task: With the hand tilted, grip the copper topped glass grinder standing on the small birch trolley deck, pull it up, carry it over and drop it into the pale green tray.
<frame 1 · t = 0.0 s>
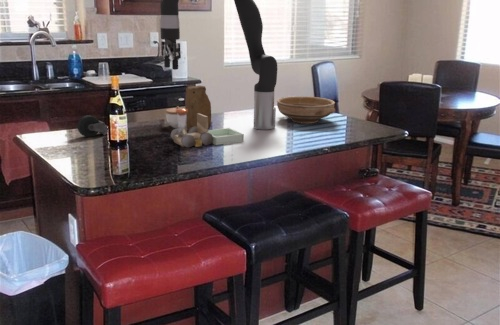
hand: (171, 68, 206), 29 cm above the countertop, tool pointing down, fingers open, 8 cm apart
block: (198, 130, 230), on the countertop
copper topped glass grinder: (182, 136, 205), point 3 cm above the countertop, touching trolley
tray: (222, 139, 213), on the countertop
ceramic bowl: (305, 121, 253), on the countertop
lidded jar: (178, 126, 237), on the countertop
trolley: (191, 142, 208), on the countertop
caster wheel: (96, 136, 218), on the countertop
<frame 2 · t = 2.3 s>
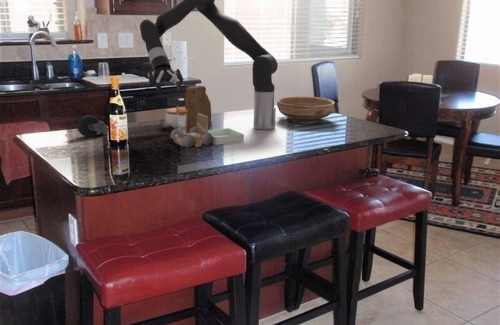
hand: (170, 91, 210), 20 cm above the countertop, tool tilted 45°, fingers open, 8 cm apart
nothing on the countertop moved.
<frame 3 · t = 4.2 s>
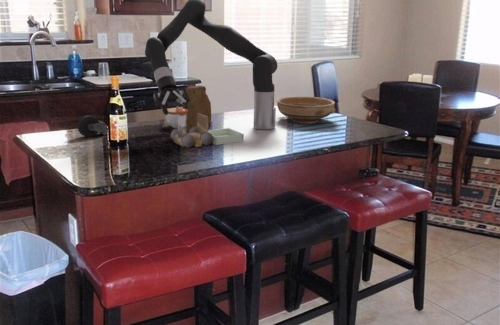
hand: (176, 112, 207), 12 cm above the countertop, tool tilted 45°, fingers open, 8 cm apart
nothing on the countertop moved.
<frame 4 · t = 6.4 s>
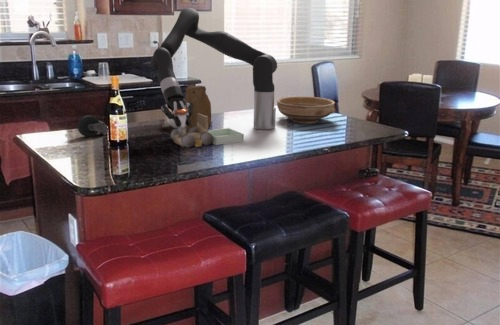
hand: (184, 125, 202), 8 cm above the countertop, tool tilted 45°, fingers closed on copper topped glass grinder, 3 cm apart
copper topped glass grinder: (182, 136, 205), point 3 cm above the countertop, touching gripper, trolley
everything else where it was.
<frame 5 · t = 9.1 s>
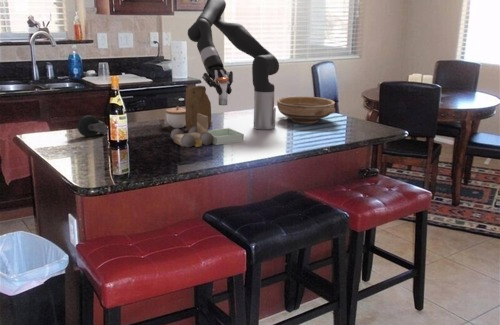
hand: (225, 93, 206), 20 cm above the countertop, tool tilted 45°, fingers closed on copper topped glass grinder, 3 cm apart
copper topped glass grinder: (223, 104, 209), point 15 cm above the countertop, touching gripper
everything else where it was.
when the fingers open (8 cm above the countertop, at t = 11.8 s): copper topped glass grinder drops 1 cm, resting on tray.
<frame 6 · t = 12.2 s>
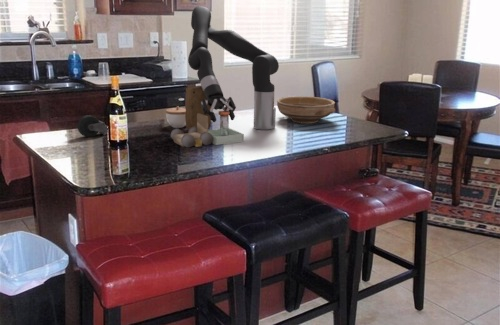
hand: (224, 120, 210), 9 cm above the countertop, tool tilted 45°, fingers open, 8 cm apart
copper topped glass grinder: (224, 137, 215), point 1 cm above the countertop, touching tray
everything else where it was.
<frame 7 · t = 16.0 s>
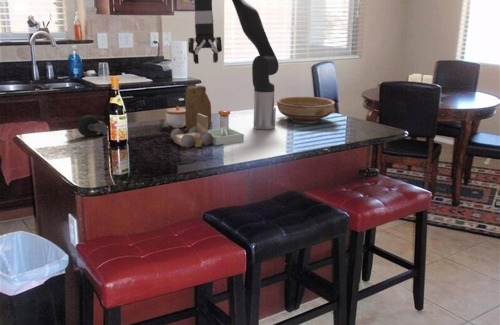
hand: (206, 63, 212), 31 cm above the countertop, tool pointing down, fingers open, 8 cm apart
nothing on the countertop moved.
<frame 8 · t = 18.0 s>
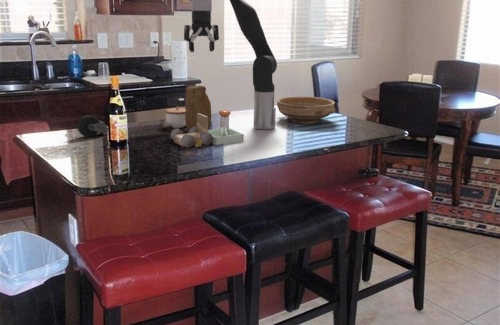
hand: (201, 51, 205), 36 cm above the countertop, tool pointing down, fingers open, 8 cm apart
nothing on the countertop moved.
at the end: copper topped glass grinder inside the target area on the tray (2.0 cm from its centre), point 0.6 cm above the tray's base; the gripper is holding nothing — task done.
